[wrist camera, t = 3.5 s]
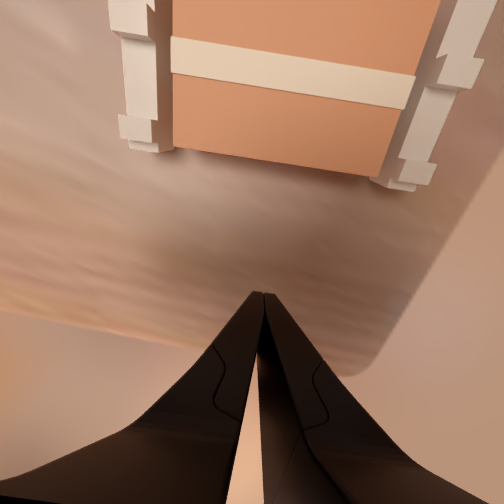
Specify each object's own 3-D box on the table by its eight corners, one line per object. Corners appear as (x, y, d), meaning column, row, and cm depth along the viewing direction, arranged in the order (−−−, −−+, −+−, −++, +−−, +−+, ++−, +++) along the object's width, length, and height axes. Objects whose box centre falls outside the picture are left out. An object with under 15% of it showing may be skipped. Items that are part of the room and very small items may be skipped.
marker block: (400, 19, 12) (451, -21, 9) (354, 168, 15) (379, 178, 12) (195, -16, 12) (169, -71, 9) (191, 143, 15) (171, 146, 12)
